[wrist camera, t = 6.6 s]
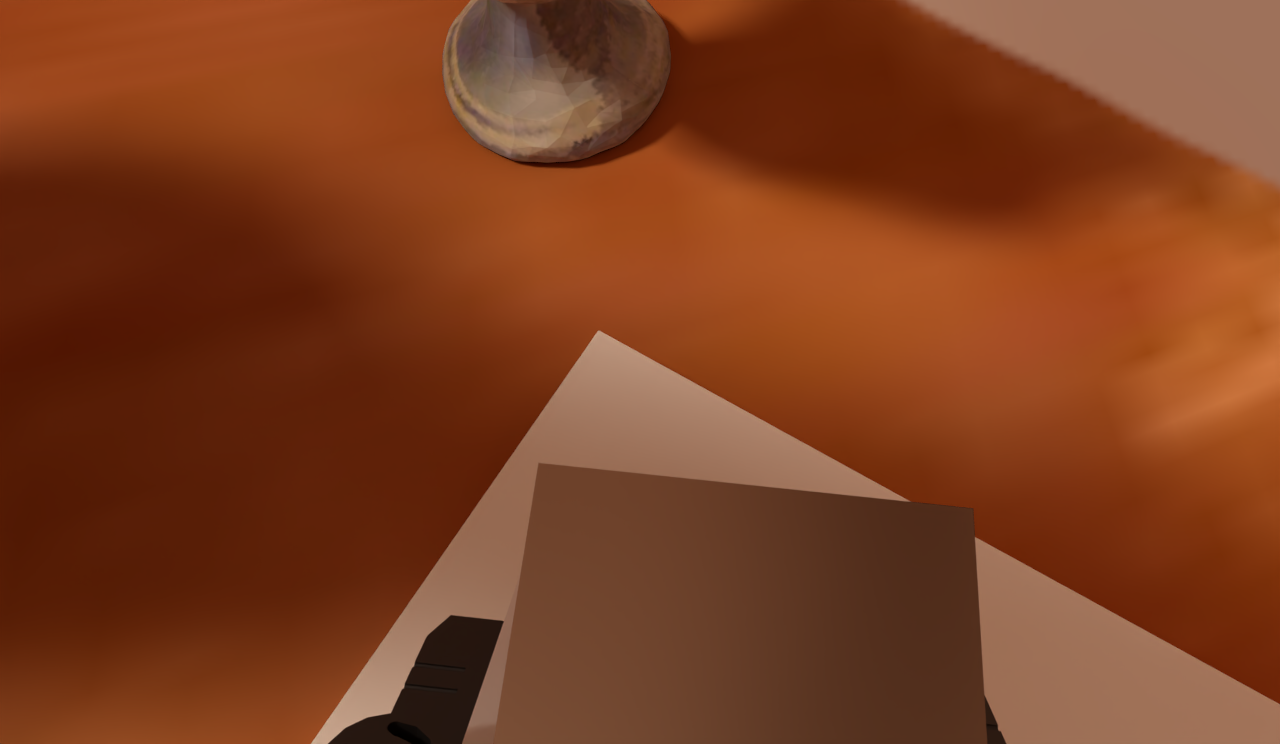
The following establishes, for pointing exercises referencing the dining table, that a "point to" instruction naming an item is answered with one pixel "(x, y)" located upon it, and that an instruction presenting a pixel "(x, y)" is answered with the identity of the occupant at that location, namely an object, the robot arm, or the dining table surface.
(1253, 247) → the dining table surface
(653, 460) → the marked board
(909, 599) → the block
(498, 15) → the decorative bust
